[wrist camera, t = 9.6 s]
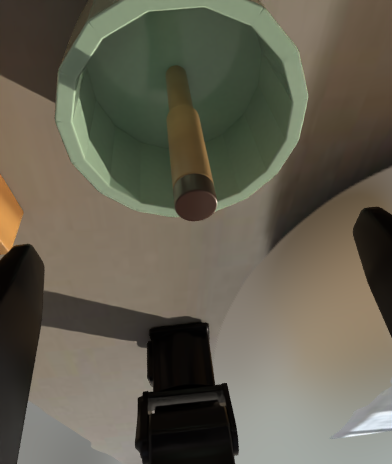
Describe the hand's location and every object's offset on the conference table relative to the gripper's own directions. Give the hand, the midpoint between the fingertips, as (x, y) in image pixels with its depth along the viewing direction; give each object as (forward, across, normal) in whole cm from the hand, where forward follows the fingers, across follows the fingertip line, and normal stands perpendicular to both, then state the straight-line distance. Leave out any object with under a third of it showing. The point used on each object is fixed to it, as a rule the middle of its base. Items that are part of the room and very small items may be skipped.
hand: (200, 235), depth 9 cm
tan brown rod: (+10, 0, 0) cm, 10 cm away
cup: (+11, 0, 0) cm, 11 cm away
